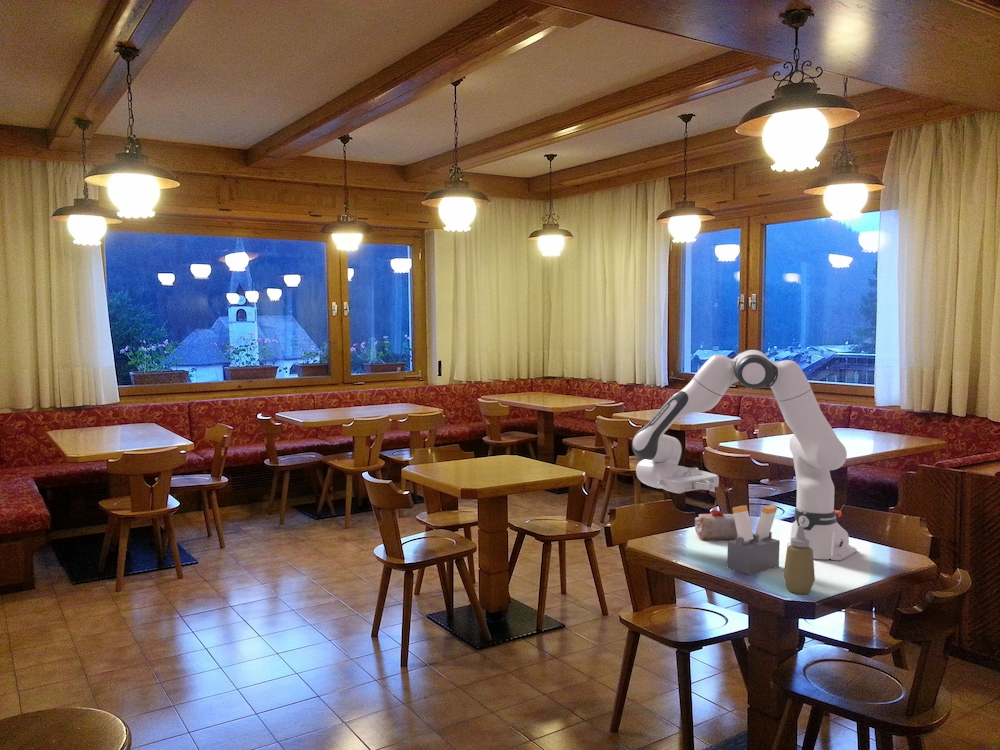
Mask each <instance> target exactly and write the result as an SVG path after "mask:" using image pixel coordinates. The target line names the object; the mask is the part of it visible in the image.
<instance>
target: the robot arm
mask: <svg viewBox="0 0 1000 750" xmlns="http://www.w3.org/2000/svg"><path fill="white" fill-rule="evenodd" d="M737 382H739V383H740V384H741V385H742V386H744V387H746V388H748V389H749V388H750V389H760V388H762V389H763V388H770V390H771V391H772V393H773V395H774V397H775V401H776V403H777V405H778V407H779V410H780V412H781V414H782V416H783V417H782V418H783V420H784V421H785V424H786V425H787V426H788V427H789V429H790V431H792V436H791V438H790V439H789V450H790V453H791V455H792V460H793V468H794V471H795V477H796V478H795V479H796V480H795V481H796V507H794V519H795V521H793V522H792V523H791V529H790V537H789V542H787V543H786V547H788V546H790V545H791V538H793V537H796V533H797V529H798V526H803V529H804V534H805V538H806V539H808V540H809V547H810V548H811V549H812V550H813V560H829V559H831V560H832V561H839V560H840V561H843V560H845V559H846V558H848V557H849V556H851V555H853V554H855V553H857V548H856V547H855V546H853V545H851V544H849V543H850V541H849V539H850V538H849V537H850V536H849V533H848V532H847V530H846V529H844V527H842V526H841V525H840V524H839V523H838V520H837V518H841V516H842V511H841V510H836V509H835V485H834V482H833V480H832V477H831V471H834V470H835V471H836V470H837V469H840V468H841V467H843V465H845V462H846V460H847V457H848V456H847V455H848V454H847V449H846V447H845V445H844V444H843V443H842V442H841V440H840V438H838V437H837V435H836V433H835V431H834V429H833V428H832V426H831V424H830V423H829V421H828V420H827V418H826V417H825V415H824V414H823V411H822V410H821V407H820V405H819V403H818V401H817V398H816V396H815V394H814V392H813V389H812V387H811V385H810V382H809V380H808V378H807V376H806V375H805V373H804V371H803V369H802V368H801V367H800V365H799V364H798V363H797V362H796V361H794V360H790V359H785V360H780V361H777V362H776V361H771V359H770V358H769V357H768V355H767V354H766V353H765V352H764V351H762V350H760V349H758V348H748V349H744V350H742V351H740V352H738V353H736V354H734V355H732V356H731V357H728V356H727V355H724V354H720V353H719V354H713V355H711V356H710V357H709V358H708V359H707V360H706V361H705V362H704V363H703V364H702V365H701V366H700V368H699V369H698V370H697V371H696V373H695V374H694V376H693V377H692V379H691V380H690V381H689V382H688V383H687V384H686V385H685V386H684V387H683V388H682V389H681V390H679V391H677V392H676V393H674V394H673V395H671V396H670V398H668V400H667V401H665V403H664V404H663V405H662V406H661V408H660V409H659V410H658V411H657V412H656V413H655V414H654V416H652V418H651V419H650V420H649V422H647V423H646V424H645V425H644V426H643V427H642V428H641V427H640V429H639V430H638V431H636V433H635V434H634V436H633V437H632V441H631V449H632V452H633V453H634V456H635V457H636V458H637V459H639V460H640V461H638V463H637V465H636V467H635V474H636V477H637V479H638V480H639V481H640V482H641V483H642V484H644V485H646V486H648V487H652V488H654V489H655V488H656V489H663V490H665V491H666V492H671V493H675V494H683V493H685V492H691V491H692V492H693V491H698V490H704V491H711V490H714V489H715V488H718V487H719V484H720V476H719V475H718V474H716V473H712V472H709V471H705V470H699V468H698V467H694V466H693V467H692V466H689V467H688V466H682V465H679V464H680V461H681V457H682V453H683V446H682V443H681V441H680V440H679V438H677V437H675V436H671V435H668V434H665V433H666V432H667V431H668V430H669V428H670V427H671V426H672V424H674V422H675V421H677V420H678V419H679V418H680V417H682V416H685V415H688V414H693V413H694V414H695V413H704V412H705V413H706V412H708V411H711V410H712V409H713V408H715V406H716V405H718V404H719V402H720V401H721V399H722V398H723V396H724V395H725V393H726V392H727V390H728V389H729V388H730V387H731V386H732V385H733V384H735V383H737ZM842 559H843V560H842ZM831 560H830V561H831Z"/></svg>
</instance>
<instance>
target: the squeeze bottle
mask: <svg viewBox="0 0 1000 750" xmlns="http://www.w3.org/2000/svg"><path fill="white" fill-rule="evenodd" d="M786 547H787V546H786ZM814 561H815V559H813V550H812V549H811V548H810V547H809V540H808V539H806V538H805V534H804V529H803V526H798V529H797V533H796V537H793V538H791V545H790V546H788V547H787V548H786V554H785V562H784V566H783V567H784V568H783V574H782V576H783V580H784V583H785V586H786V589H787V591H788V592H791V593H794V594H799V595H804V594H809V593H810V592H811V591H812V588H813V585H814V583H815V581H816V575H815V563H814Z"/></svg>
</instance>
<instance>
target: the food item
mask: <svg viewBox="0 0 1000 750" xmlns="http://www.w3.org/2000/svg"><path fill="white" fill-rule="evenodd" d="M694 527H695V529H694V531H695V533H696V535H697V536H698V538H699V539H700V540H701V541H727V542H728V541H732V540H736V537H738V535H737V530H736V525H735V520H734V515H733V513H723V512H722V511H721V510H717V508H715V509H712V510H710V513H700V514H698V516H697V517H695V518H694Z"/></svg>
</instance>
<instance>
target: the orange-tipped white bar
mask: <svg viewBox="0 0 1000 750" xmlns="http://www.w3.org/2000/svg"><path fill="white" fill-rule="evenodd" d="M777 510H778V507H777V506H775V505H774V504H769V505H764V506H762V508H761V513H760V515H759V519H758V523H757V525H756V529H755V533H754V534H756V535H758V539H762V538H766V537H769V533H770V532H771V530H772V526H773V523H774V520H775V515H776V513H777Z"/></svg>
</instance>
